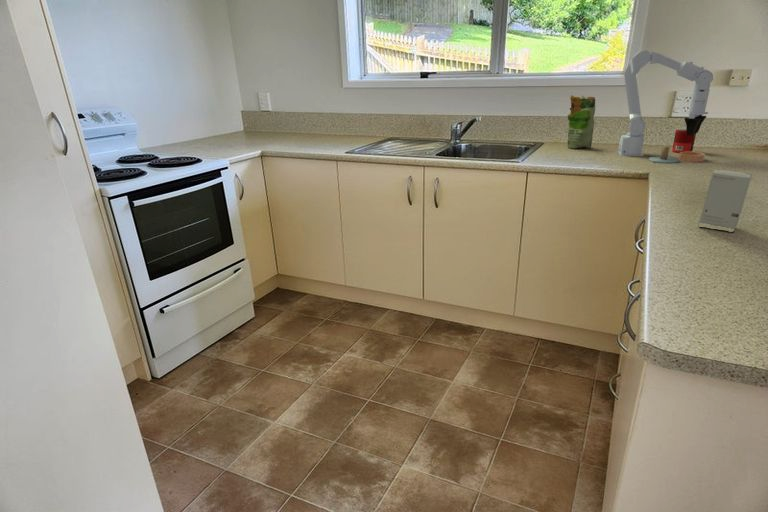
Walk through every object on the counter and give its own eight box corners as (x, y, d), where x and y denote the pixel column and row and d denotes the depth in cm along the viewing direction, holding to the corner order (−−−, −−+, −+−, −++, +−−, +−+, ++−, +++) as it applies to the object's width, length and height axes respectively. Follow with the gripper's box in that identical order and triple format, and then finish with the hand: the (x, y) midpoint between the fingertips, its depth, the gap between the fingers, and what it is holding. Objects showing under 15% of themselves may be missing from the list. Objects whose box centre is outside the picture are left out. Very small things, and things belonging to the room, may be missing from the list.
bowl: (682, 162, 201) (683, 155, 200) (675, 158, 209) (676, 151, 208) (706, 162, 199) (708, 155, 198) (698, 158, 207) (700, 151, 206)
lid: (652, 163, 201) (655, 149, 198) (645, 157, 210) (648, 144, 208) (682, 163, 198) (684, 149, 196) (673, 157, 208) (676, 144, 206)
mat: (653, 163, 201) (653, 162, 201) (647, 158, 210) (647, 158, 210) (680, 163, 199) (680, 162, 199) (672, 159, 208) (672, 158, 208)
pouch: (592, 149, 233) (599, 95, 224) (566, 149, 236) (571, 96, 227) (589, 145, 243) (595, 93, 234) (564, 145, 246) (569, 94, 237)
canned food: (694, 154, 215) (699, 129, 211) (675, 154, 217) (679, 129, 213) (688, 151, 222) (693, 126, 218) (669, 151, 224) (673, 126, 220)
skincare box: (697, 227, 129) (710, 173, 123) (702, 221, 133) (713, 168, 128) (735, 233, 124) (750, 176, 118) (738, 227, 128) (752, 172, 123)
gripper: (705, 102, 193) (698, 137, 199) (714, 99, 203) (707, 132, 208) (686, 102, 198) (679, 135, 203) (695, 99, 208) (688, 131, 213)
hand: (692, 134), depth 206 cm, fingers open, 7 cm apart
